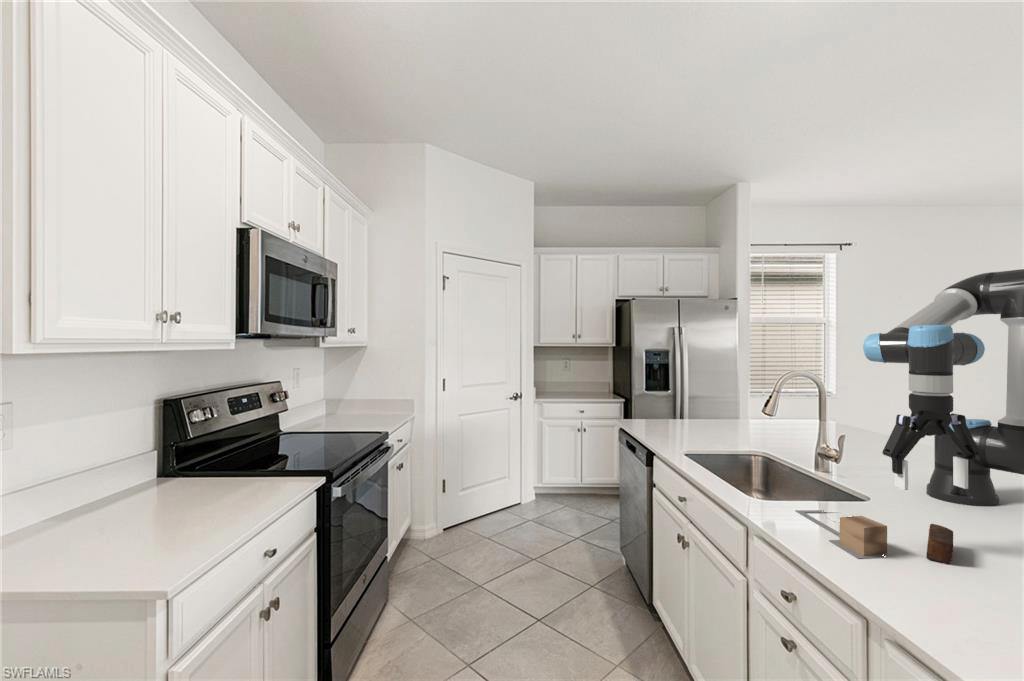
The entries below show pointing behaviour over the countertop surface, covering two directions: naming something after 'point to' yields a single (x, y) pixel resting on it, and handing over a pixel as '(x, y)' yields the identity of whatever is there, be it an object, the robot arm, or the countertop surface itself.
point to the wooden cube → (863, 535)
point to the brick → (940, 544)
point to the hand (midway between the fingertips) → (931, 487)
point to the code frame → (803, 512)
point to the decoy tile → (855, 552)
